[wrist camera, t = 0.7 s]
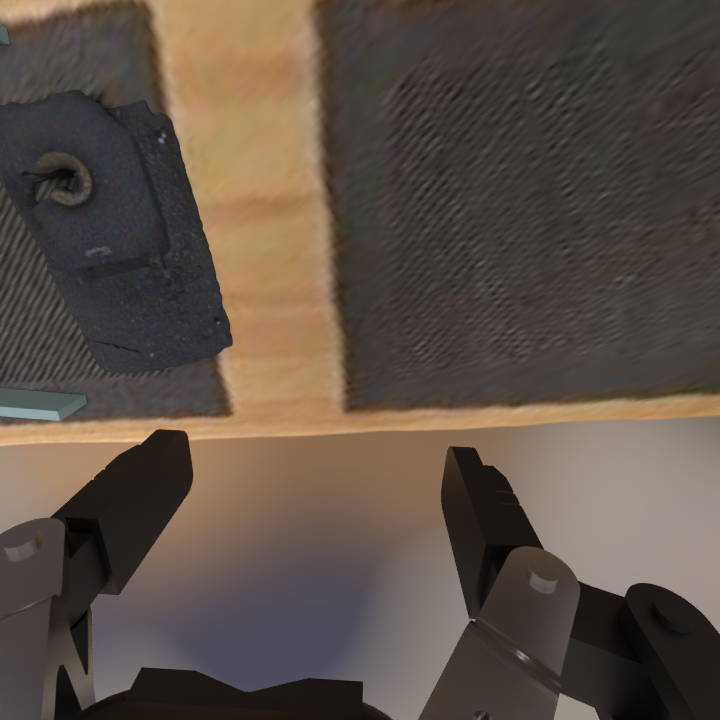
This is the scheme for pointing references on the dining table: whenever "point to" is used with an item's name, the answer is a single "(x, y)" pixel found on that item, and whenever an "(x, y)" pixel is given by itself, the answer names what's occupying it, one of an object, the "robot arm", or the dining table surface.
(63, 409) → the box
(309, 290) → the dining table surface
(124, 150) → the black pouch
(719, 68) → the dining table surface
